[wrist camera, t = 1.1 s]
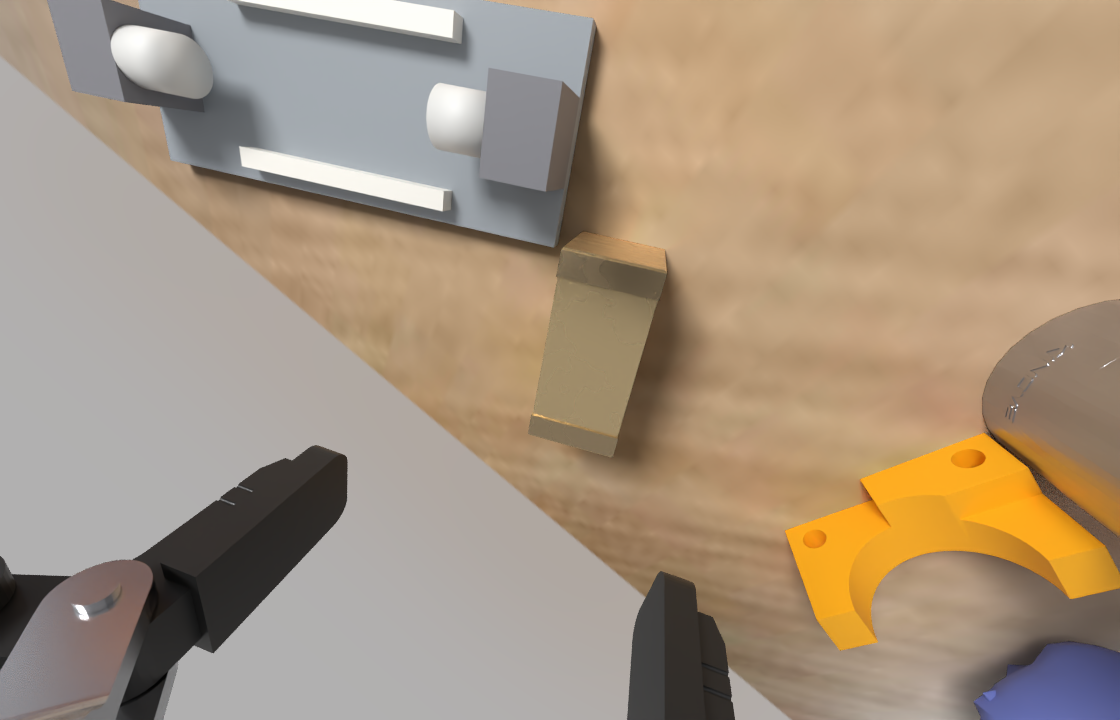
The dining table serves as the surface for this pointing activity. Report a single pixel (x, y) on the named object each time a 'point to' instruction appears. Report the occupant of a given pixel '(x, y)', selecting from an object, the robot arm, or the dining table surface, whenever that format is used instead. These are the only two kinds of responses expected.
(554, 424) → the tan tapered block
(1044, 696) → the figurine
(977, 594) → the dining table surface
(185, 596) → the robot arm
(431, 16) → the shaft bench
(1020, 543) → the pipe clamp
